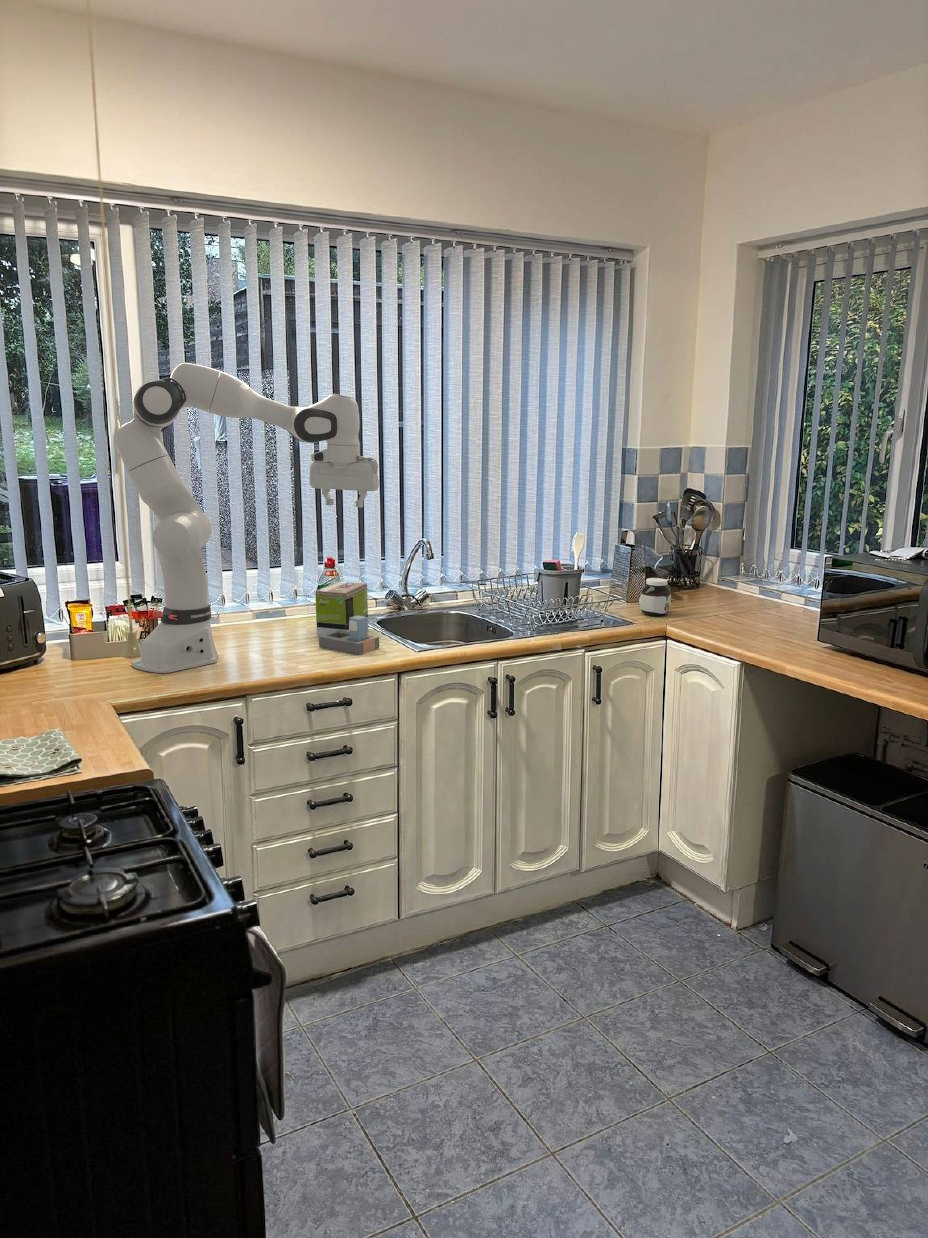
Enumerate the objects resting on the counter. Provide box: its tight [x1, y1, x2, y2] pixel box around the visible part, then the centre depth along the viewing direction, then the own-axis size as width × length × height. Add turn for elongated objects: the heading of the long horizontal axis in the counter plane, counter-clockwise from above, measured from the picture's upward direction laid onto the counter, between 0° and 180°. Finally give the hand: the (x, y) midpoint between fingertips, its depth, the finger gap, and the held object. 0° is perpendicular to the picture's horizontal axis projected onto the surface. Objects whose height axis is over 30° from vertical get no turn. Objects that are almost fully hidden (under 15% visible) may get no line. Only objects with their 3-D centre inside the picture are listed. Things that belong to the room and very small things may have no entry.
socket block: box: [318, 630, 380, 656], centre depth 258 cm, size 9×14×4 cm, turn 58°
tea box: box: [314, 581, 369, 637], centre depth 274 cm, size 15×10×15 cm
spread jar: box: [638, 577, 672, 618], centre depth 310 cm, size 12×11×12 cm
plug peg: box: [349, 615, 369, 642], centre depth 255 cm, size 4×4×9 cm
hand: (344, 506), depth 257 cm, fingers open, 8 cm apart
